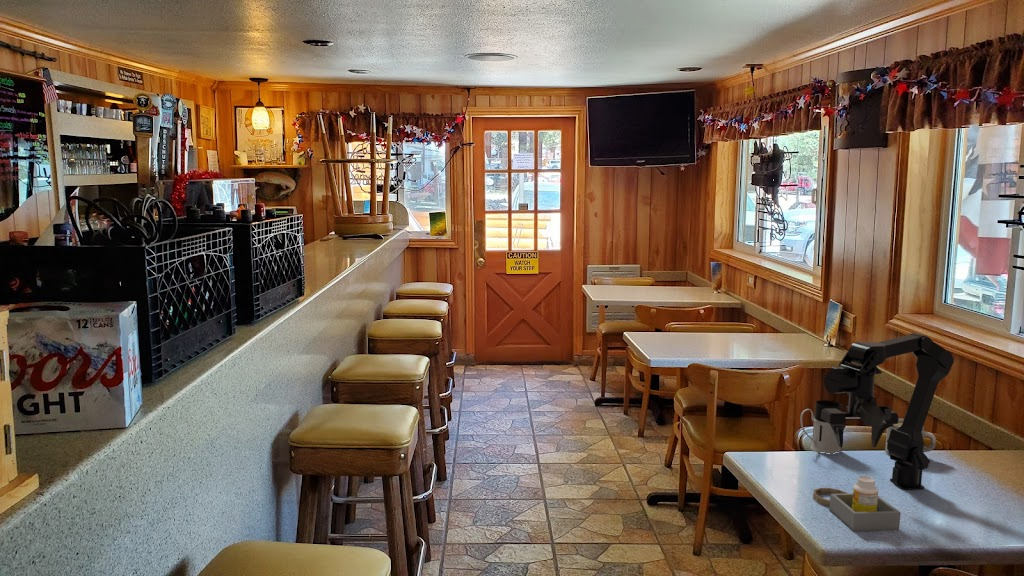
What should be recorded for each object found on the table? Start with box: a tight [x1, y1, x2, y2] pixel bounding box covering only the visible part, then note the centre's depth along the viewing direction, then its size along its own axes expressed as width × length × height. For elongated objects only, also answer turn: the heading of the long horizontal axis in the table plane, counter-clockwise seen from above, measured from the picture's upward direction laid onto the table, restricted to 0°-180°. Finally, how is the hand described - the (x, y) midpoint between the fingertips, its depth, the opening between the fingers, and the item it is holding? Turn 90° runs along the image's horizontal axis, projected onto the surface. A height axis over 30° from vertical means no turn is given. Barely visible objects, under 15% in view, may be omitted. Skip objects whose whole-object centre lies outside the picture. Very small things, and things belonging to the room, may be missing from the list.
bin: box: [829, 492, 902, 532], centre depth 187 cm, size 12×12×4 cm
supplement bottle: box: [852, 475, 879, 512], centre depth 187 cm, size 6×6×10 cm
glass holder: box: [799, 399, 843, 454], centre depth 236 cm, size 9×14×15 cm, turn 107°
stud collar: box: [812, 487, 848, 508], centre depth 199 cm, size 9×9×2 cm
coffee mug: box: [884, 418, 937, 456], centre depth 232 cm, size 13×10×10 cm
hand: (857, 447), depth 202 cm, fingers open, 9 cm apart
